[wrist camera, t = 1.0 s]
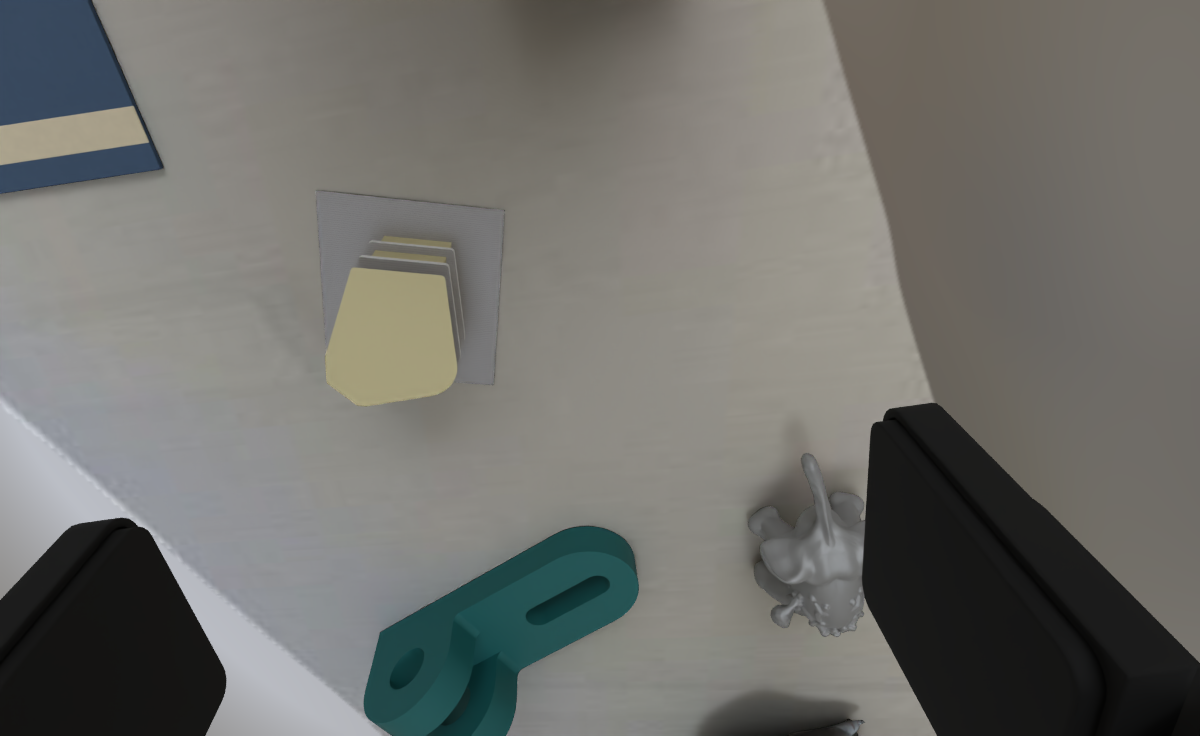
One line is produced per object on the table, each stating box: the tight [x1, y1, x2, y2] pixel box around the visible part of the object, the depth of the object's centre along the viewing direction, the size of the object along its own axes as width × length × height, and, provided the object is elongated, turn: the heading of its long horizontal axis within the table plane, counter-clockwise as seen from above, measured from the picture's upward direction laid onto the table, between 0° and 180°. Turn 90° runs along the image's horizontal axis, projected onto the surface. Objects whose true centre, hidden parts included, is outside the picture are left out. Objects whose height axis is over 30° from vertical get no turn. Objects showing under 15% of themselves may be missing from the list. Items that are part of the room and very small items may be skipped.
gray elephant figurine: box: [748, 453, 865, 637], centre depth 42 cm, size 9×12×8 cm
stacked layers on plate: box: [316, 190, 505, 406], centre depth 34 cm, size 10×9×6 cm
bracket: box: [364, 526, 639, 736], centre depth 44 cm, size 18×7×8 cm, turn 123°
